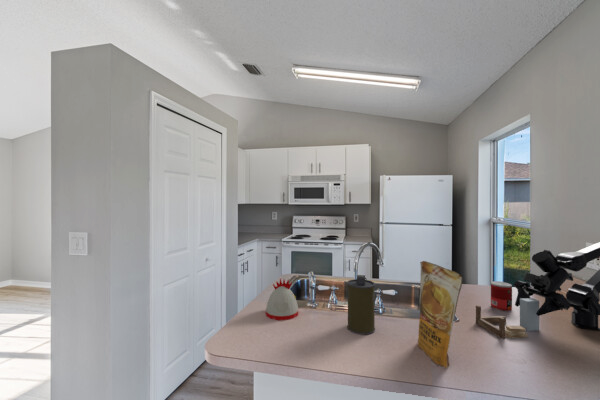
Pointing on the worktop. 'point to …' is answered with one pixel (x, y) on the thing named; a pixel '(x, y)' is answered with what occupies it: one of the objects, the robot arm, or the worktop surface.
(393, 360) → the worktop surface
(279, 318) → the beanie hat
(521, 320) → the grey rectangular block
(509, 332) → the offcut stack
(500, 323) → the rack
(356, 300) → the canister
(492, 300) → the canned food
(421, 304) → the pancake mix bag
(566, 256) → the robot arm
